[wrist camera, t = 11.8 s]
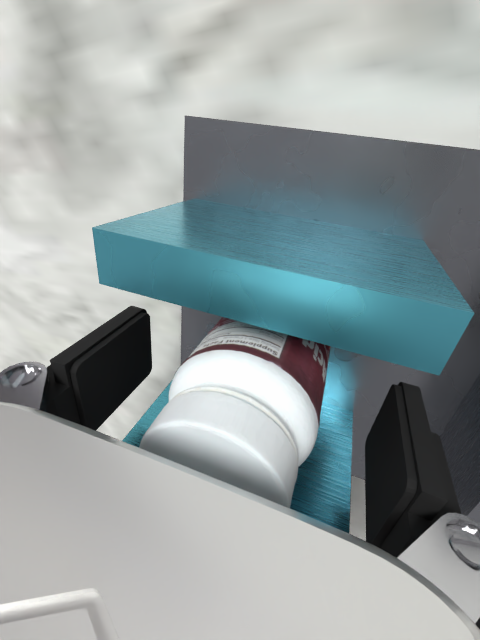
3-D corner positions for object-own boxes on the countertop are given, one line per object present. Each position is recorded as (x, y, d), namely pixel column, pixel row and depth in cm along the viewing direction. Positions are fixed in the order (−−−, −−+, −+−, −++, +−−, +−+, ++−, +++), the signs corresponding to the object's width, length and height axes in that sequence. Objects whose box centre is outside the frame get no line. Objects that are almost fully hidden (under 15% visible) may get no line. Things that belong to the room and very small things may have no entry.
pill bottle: (331, 373, 15) (307, 571, 8) (237, 363, 16) (147, 520, 9) (335, 278, 13) (306, 433, 6) (226, 277, 14) (100, 397, 7)
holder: (196, 118, 13) (55, 90, 7) (656, 172, 9) (1164, 208, 3) (187, 402, 21) (119, 501, 15) (430, 487, 17) (466, 658, 11)
